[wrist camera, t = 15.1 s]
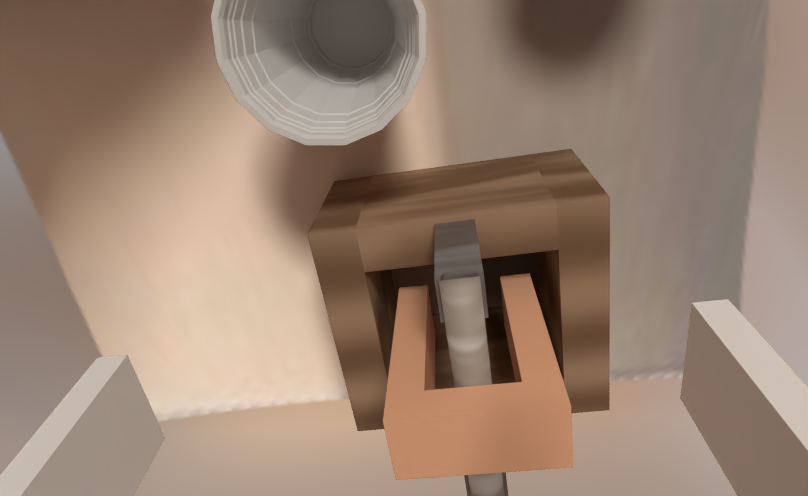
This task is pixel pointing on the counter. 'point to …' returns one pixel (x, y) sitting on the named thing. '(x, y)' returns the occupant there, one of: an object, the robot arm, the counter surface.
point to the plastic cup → (321, 63)
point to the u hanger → (476, 397)
